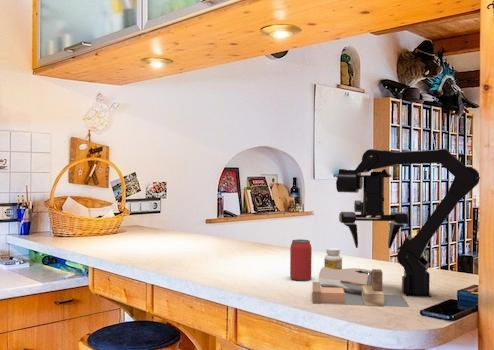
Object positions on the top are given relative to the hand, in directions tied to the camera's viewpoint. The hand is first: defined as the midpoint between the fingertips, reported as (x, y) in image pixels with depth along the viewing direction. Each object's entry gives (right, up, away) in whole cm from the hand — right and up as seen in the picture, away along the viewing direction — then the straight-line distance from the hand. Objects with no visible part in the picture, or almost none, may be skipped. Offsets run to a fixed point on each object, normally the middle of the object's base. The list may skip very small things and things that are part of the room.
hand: (373, 247), depth 151 cm
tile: (-14, -12, -12) cm, 22 cm away
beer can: (-19, -12, +15) cm, 27 cm away
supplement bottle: (-9, -12, +13) cm, 20 cm away
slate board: (-7, -12, -11) cm, 18 cm away
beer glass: (-14, -9, +3) cm, 17 cm away
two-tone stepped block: (-3, -12, -13) cm, 18 cm away
